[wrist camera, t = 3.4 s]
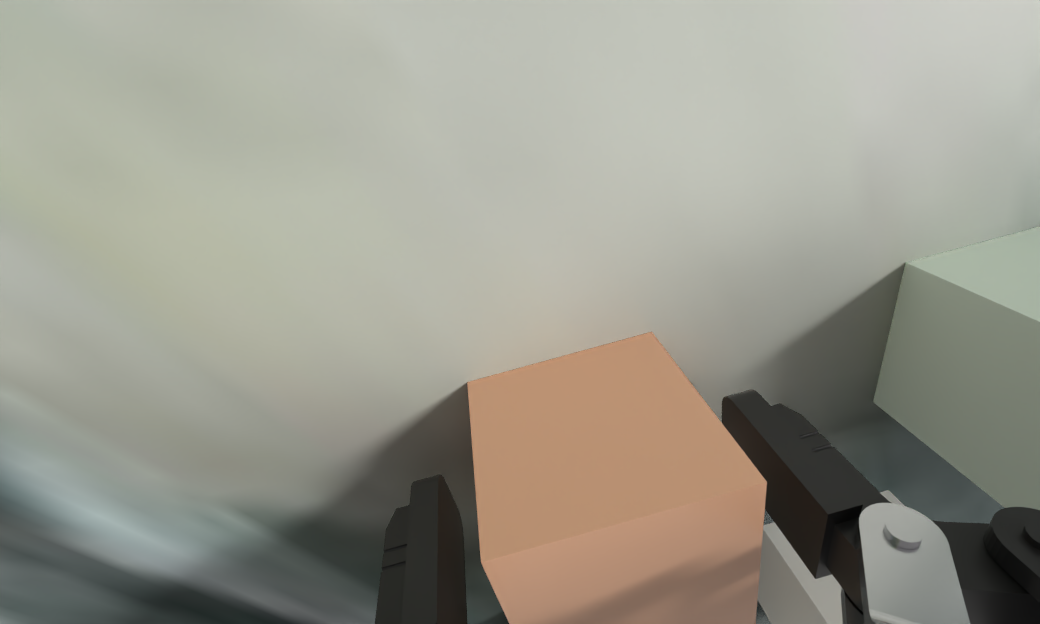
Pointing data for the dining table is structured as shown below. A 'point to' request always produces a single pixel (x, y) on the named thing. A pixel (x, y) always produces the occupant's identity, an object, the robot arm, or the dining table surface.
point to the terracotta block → (613, 493)
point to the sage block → (972, 362)
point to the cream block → (796, 583)
